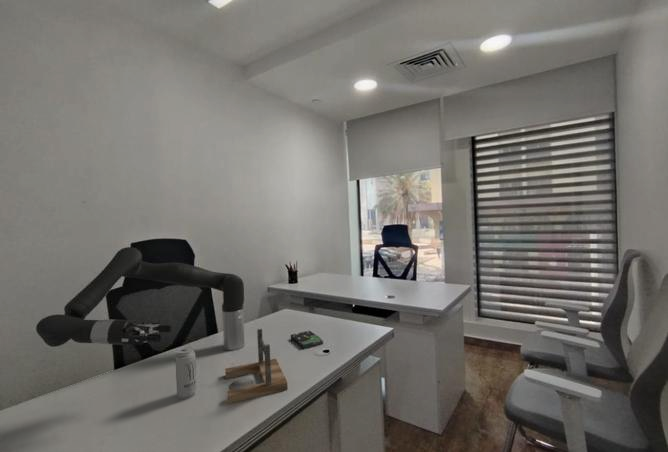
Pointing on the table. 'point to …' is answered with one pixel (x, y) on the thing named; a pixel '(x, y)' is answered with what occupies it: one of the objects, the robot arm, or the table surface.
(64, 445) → the table surface
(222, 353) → the table surface
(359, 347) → the table surface
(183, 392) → the energy drink can
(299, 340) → the disk drive
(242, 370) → the wooden crossbar stand
